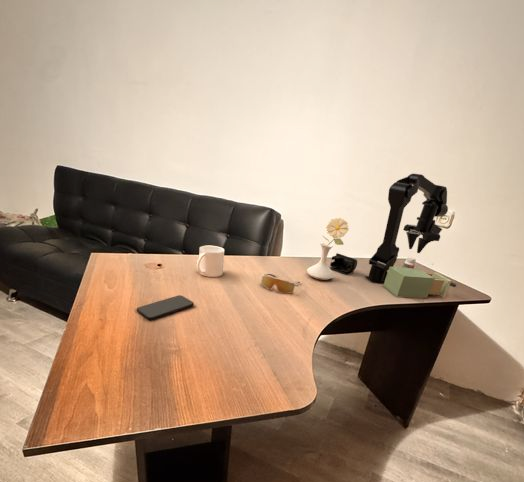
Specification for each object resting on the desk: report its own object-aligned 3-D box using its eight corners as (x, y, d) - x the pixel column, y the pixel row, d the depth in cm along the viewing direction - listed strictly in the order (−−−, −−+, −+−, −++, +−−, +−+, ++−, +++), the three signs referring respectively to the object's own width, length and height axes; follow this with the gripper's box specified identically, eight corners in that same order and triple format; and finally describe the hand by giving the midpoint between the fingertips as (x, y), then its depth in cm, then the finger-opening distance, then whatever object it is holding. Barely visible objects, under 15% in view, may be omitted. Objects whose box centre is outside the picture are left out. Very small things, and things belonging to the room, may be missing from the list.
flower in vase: (300, 275, 127) (313, 213, 115) (315, 270, 135) (327, 212, 123) (327, 285, 120) (343, 221, 108) (341, 280, 128) (357, 219, 116)
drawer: (439, 287, 133) (445, 273, 130) (454, 296, 125) (461, 281, 122) (404, 285, 129) (410, 270, 126) (417, 295, 121) (424, 279, 118)
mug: (212, 267, 122) (214, 244, 117) (227, 274, 117) (229, 251, 112) (187, 272, 114) (187, 247, 109) (202, 280, 109) (202, 255, 104)
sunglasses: (255, 286, 109) (257, 273, 107) (269, 280, 123) (271, 268, 121) (292, 297, 105) (295, 283, 104) (302, 289, 119) (305, 276, 117)
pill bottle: (405, 277, 143) (412, 260, 139) (398, 273, 147) (404, 257, 143) (412, 276, 145) (418, 260, 141) (404, 273, 149) (410, 256, 145)
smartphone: (134, 307, 83) (180, 294, 94) (135, 310, 84) (180, 297, 94) (149, 318, 79) (195, 303, 90) (149, 321, 80) (195, 306, 90)
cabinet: (411, 287, 131) (418, 268, 127) (426, 298, 122) (435, 278, 118) (383, 285, 128) (389, 266, 124) (396, 296, 119) (404, 276, 115)
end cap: (354, 272, 139) (359, 258, 136) (347, 275, 134) (351, 260, 131) (336, 266, 145) (339, 252, 142) (328, 268, 140) (331, 254, 137)
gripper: (457, 222, 127) (442, 258, 134) (429, 214, 143) (417, 246, 150) (434, 220, 124) (420, 256, 132) (408, 211, 140) (397, 244, 148)
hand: (414, 251), depth 140 cm, fingers open, 6 cm apart
